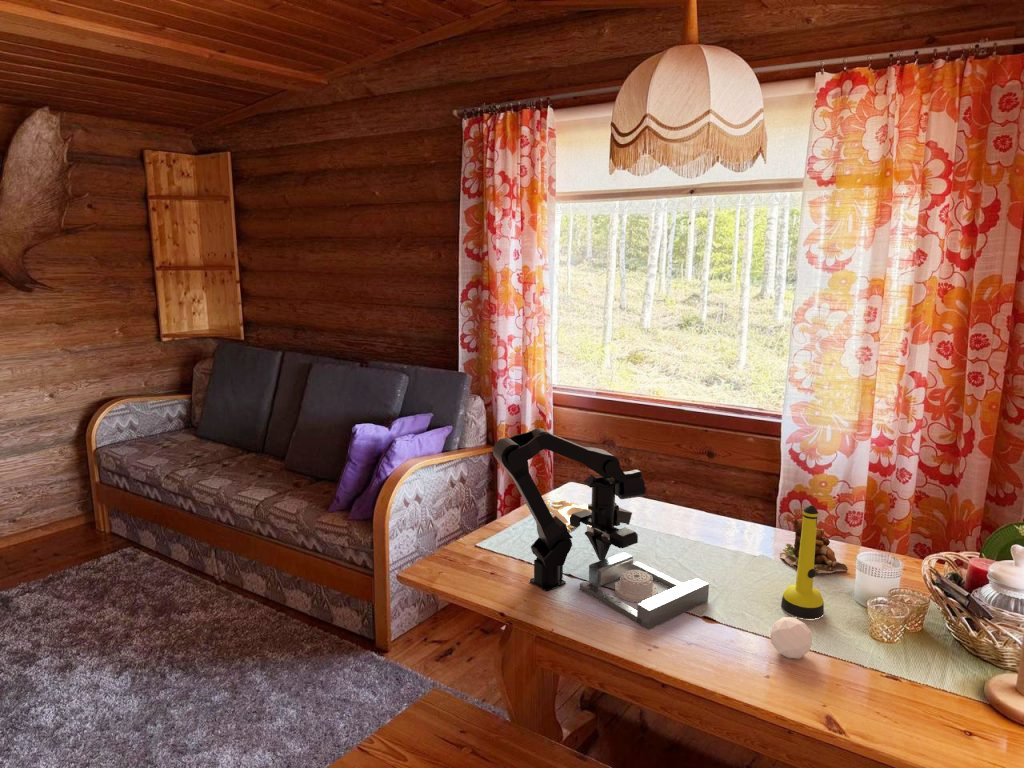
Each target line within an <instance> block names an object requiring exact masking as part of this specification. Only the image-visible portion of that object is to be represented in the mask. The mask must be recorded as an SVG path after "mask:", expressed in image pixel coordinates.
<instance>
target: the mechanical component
mask: <svg viewBox="0 0 1024 768" xmlns="http://www.w3.org/2000/svg"><path fill="white" fill-rule="evenodd" d="M614 585H615V586H614V589H615V590H614V593H615V594H616V595H617V596H618V597H619V598H621V599H622V600H625V601H627V602H630V603H632V602H633V603H641V602H642V601H644V600H646V599H649V598H651V597H653V596H655V595H658V594H659V589H658V586H657V585H656V584H655V583H654V580H653V577H652V575H649V574H647V572H643V571H641V570H636V569H635V570H630V571H624V573H623V574H621V578H620V580H618V581H617V582H616V583H615V584H614Z"/></svg>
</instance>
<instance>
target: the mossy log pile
mask: <svg viewBox="0 0 1024 768" xmlns="http://www.w3.org/2000/svg"><path fill="white" fill-rule="evenodd" d="M802 522H803V515H802V517H801V518H798V519H796V518H794V519H792V523H793V527H794V531H795V534H794V535H795V539H794V544H793V545H792V544H791V543H785V548H784V549H782V551H781V552H780V553H779V558H781V559H783V560H784V561H785V562H786V564H788V565H789V566H790V567H794V565H795V566H797V567H798V559H799V550H800V541H801V532H802ZM824 533H825V529H824V528H822V529H820V528H818V527H817V529H816V544H815V559H814V570H815V571H816V574H828V573H831V574H832V573H834V572H847V571H849V568H848V566H847V564H845V563H841V562H839V561H837V558H836V556H835V555H836V554H835V551H834V550H833V549H832V548H831V547H830V546H829V545H830V543H831V542H830V539H829V538H828V537H825V536H823V535H824Z"/></svg>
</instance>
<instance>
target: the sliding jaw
mask: <svg viewBox="0 0 1024 768" xmlns="http://www.w3.org/2000/svg"><path fill="white" fill-rule="evenodd" d="M633 563H634V555H631V554H629V553H628V552H625V551H623V552H621V553H617V554H615V555H613V556H610V557H605V559H604V560H601V561H600V560H598V561H596V562H593V563H590V564H589V565H588V583H590V584H591V585H593V586H595V587H597V588H599V587H601V586H604V585H607V584H608V583H609V584H610V583H612V582H614V581H616V580H618V579H621V574H623V573H624V571H630V570H633Z"/></svg>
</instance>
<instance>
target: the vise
mask: <svg viewBox="0 0 1024 768" xmlns="http://www.w3.org/2000/svg"><path fill="white" fill-rule="evenodd" d="M635 569H636V570H641V571H643V572H647V574H649V575H652V577H653V581H655V582H657V583H659V584H660V585H661V584H662V585H664V586H665V587H668V588H669V589H667V590H665V591H663V592H660V593H658V595H655V596H653V597H651V598H649V599H646V600H644V601H642V602H638V603H637V609H635V608H634V607H632V606H630V605H628V604H627V603H625V602H624V601H621V600H619V599H618V598H617V597H614V596H612V595H611V594H609V593H607V592H606V591H604V590H602V589H600V588H599V587H596V586H594V585H593V584H591V583H589V581H582V582H580V583H579V591H582V592H583V594H584V593H585V594H586V595H587V596H589V597H591V598H593V599H595V600H596V601H599V602H600V603H601V604H604V605H605V606H607V607H609V608H611V609H612V610H614V611H615V612H617V613H619V614H620V615H622V616H624V617H626V618H627V619H629V620H630V621H633V622H634V623H636V624H637V625H639V626H641V627H643V628H645V629H646V630H648V631H650V630H651V629H654V628H656V627H658V626H659V625H662V624H664V623H666V622H668V621H670V620H673V619H674V618H676V617H679V616H681V615H683V614H685V613H688V612H689V611H692V610H694V609H695V608H697V607H700V606H701V605H704V604H705V603H708V602H709V593H710V591H709V589H710V583H709V582H706V581H704V580H702V579H700V578H698V577H695V578H694V579H691V580H688V581H685V582H681V581H679V580H678V579H675V578H673V577H671V576H669V575H666V574H665V573H663V572H661V571H658V570H656V569H655V568H652V567H650V566H648V565H647V564H644V563H642V562H640V561H635V562H634V561H633V570H635Z"/></svg>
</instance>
